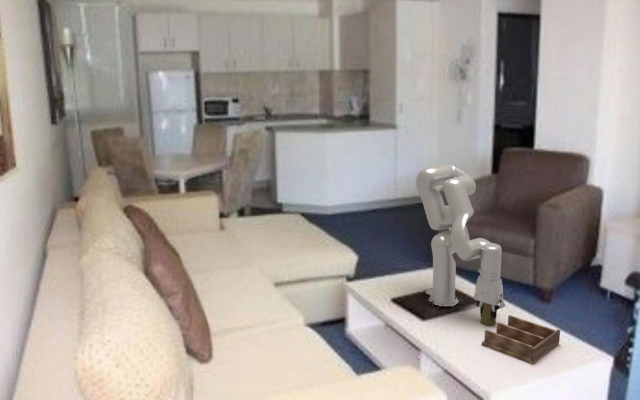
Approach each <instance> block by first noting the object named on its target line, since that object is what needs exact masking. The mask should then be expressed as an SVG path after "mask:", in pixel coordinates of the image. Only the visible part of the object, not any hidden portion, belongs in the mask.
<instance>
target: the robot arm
mask: <svg viewBox="0 0 640 400" xmlns="http://www.w3.org/2000/svg"><path fill="white" fill-rule="evenodd" d="M415 186H416V190H417V193H418V195H419V197H420V200H421V202H422V204H423V208H424V211H425V216H426V219H427V221H428V225H429V227H430V229H432V230H434V231H441V230H445V229H448V230H447V231H443V232H440V233H438V234H436V235H434V236H433V238H432V239H431V242H430V246H431V252H432V287H431V288H430V287H427V288H426V291H425V294H427V295H429V297H428V302H429V301H430V302H431V301H434V302H433V303H434V304H435V305H439V306H442V305H443V306H454V305H456V304H457V303H458V304H459V299H458V298H457V297H456V278H457V277H456V275H457V271H456V269H457V264H456V263H457V262H456V260H455V258H454V257H453V256H454V255H453V254H455V253H456V255H457V256H458V257H459V259H461V260H462V261H465V262H467V261H468V262H469V261H472V260H475V259H480V268H478V269H477V272H478V273H479V275H478V277H477V280H476V282H475V283H476V285H475V291H474V295H473V297H472V298H473V299H474V300H475V301H476V303H477V304H478V307H479V308H480V310H479V312H480V313H479V314H480V318H481V317H482V312H483V306H484V304H483V302H484V303H487V304H490V305H492V311H491V321H492V317H493V318H494V319H495V318H497V312H498V310H500V309H503V308H505V307H506V303H505V301H504V288H503V281H502V280H503V279H502V278H501V274H502V273H501V270H502V269H501V268H502V255H503V253H502V252H503V250H502V246H501V245H500V244H498V243H495V242H491V241H489V240H487V239H485V238H484V237H483V238H482V237H477V238H474V239H470V234H469V230H468V227H467V223H468V221H469V219H470V218H471V217H472V216H474V213H475V211H474V208H473V206H472V203H471V200H470V196H471V195H473V194H475V192H476V189H477V185H476V181H475V180H474V178H473V177H472V176H470V175H469V174H468V173H467V172H465V171H463V170H462V169H460V168H458V167H457V166H455V165H453V164H450V163H447V164H446V163H445V164H440V165H432V166H427V167H424V168H422V169H421V170H419V172H418V173H417V175H416V178H415ZM439 186H442V191H443V193H444V196H445V199H446V203H447V204H448V205H445V202H444V199H443V196H442V194H441V193H440V191H438V190H437V188H436V187H439ZM455 298H456V299H455ZM430 299H431V300H430Z"/></svg>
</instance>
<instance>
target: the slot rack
mask: <svg viewBox="0 0 640 400" xmlns="http://www.w3.org/2000/svg"><path fill="white" fill-rule="evenodd" d="M507 317H508V318H507V324H504V323H502V322H496V332H494V331H491V330H489V329H485V330H484V339H483V341H481V346H482V347H485V348H488V349H491V350H494V351H496V352H499V353H501V354H504V355H507V356H509V357H512V358H514V359H518V360H520V361H522V362H525V363H528V364H531V365H535V364H536V363H537V362H538V361H540V360H541V359H542V358H543V357H545V356H547V354H549V353H550V352H551V351H553V350H554V349H555V348H557V347H558V346H559V345H560V337H561V330H560V329H553V328H551V327H547V326H544V325H541V324H538V323H536V322H532V321H529V320H527V319H526V320H525V319H523V318H519V317H518V316H517V317H516V316H513V315H508V316H507Z"/></svg>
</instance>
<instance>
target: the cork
mask: <svg viewBox="0 0 640 400" xmlns="http://www.w3.org/2000/svg"><path fill="white" fill-rule="evenodd" d="M483 304H484V306H483V312H482V317H481V316H480V324H481V325H483V326H485V327H494V326H495V325H496V326H497V320H496V318H497V317H496V318H495V319H494V318H493V317H492V321H491V311H492V305H490V304H487V303H484V302H483Z"/></svg>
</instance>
